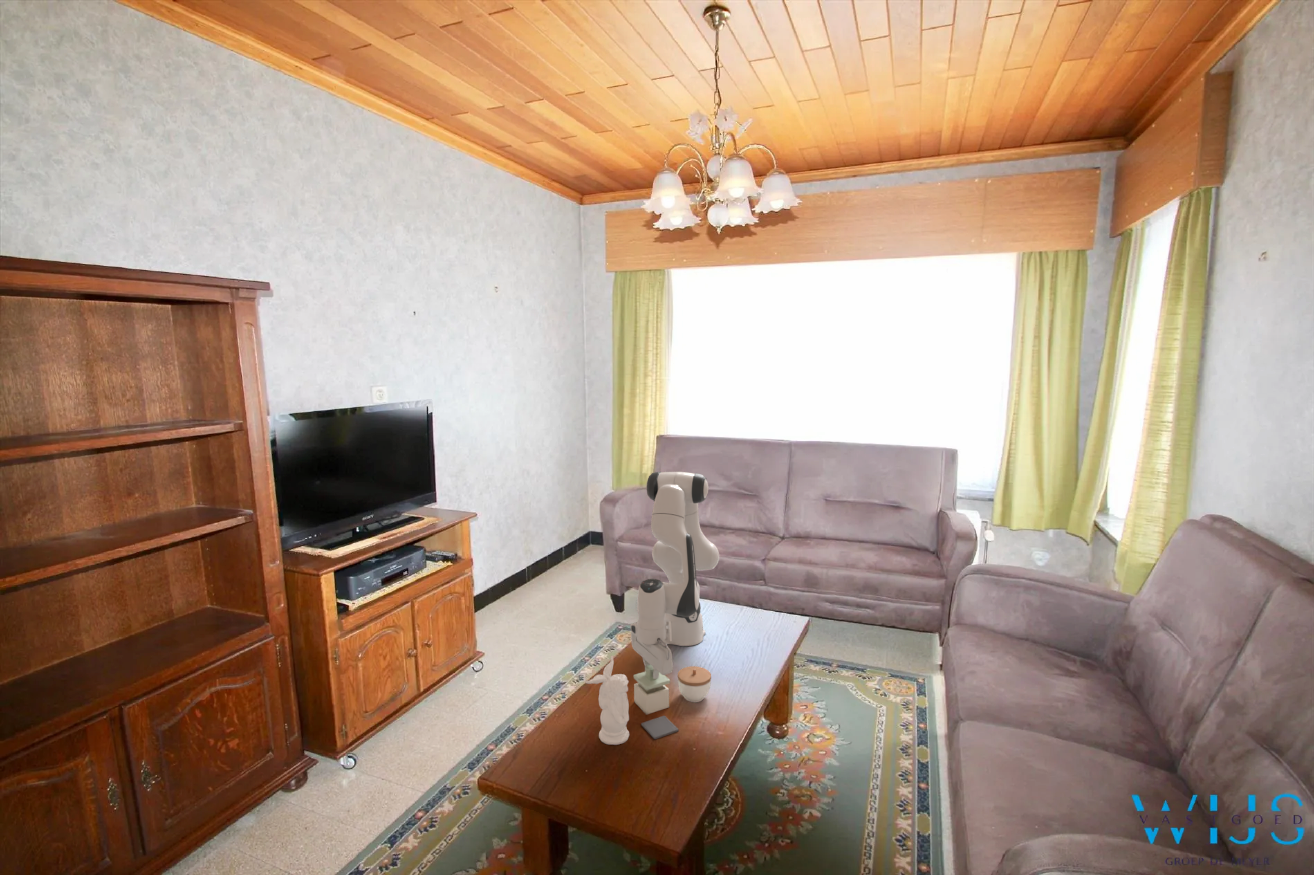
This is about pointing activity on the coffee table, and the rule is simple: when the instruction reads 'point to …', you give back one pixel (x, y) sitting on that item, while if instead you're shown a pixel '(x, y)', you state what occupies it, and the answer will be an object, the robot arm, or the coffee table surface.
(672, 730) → the mat
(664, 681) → the lid
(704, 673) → the lidded jar
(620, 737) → the white tall figurine
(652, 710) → the cream box
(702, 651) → the coffee table surface
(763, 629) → the coffee table surface
